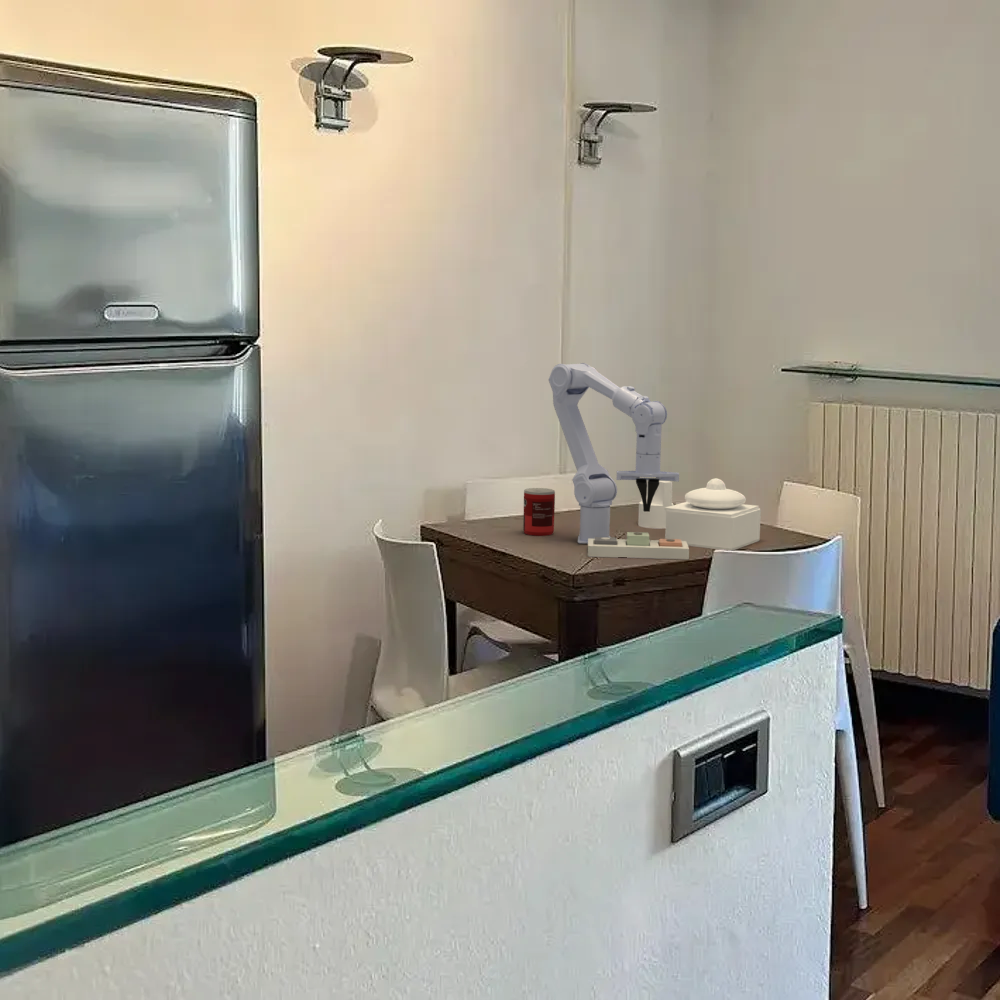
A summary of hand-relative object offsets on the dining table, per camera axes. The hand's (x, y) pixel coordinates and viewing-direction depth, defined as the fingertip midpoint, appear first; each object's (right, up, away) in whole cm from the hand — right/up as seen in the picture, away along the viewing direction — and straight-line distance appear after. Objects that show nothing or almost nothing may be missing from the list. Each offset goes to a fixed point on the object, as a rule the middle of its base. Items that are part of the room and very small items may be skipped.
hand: (646, 511), depth 321 cm
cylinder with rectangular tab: (+6, -4, +38) cm, 38 cm away
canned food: (-25, -6, +23) cm, 34 cm away
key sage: (-2, -8, -4) cm, 10 cm away
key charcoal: (-10, -10, -3) cm, 14 cm away
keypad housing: (-2, -10, -3) cm, 11 cm away
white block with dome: (+18, -8, +15) cm, 24 cm away
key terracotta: (+5, -10, -4) cm, 12 cm away
